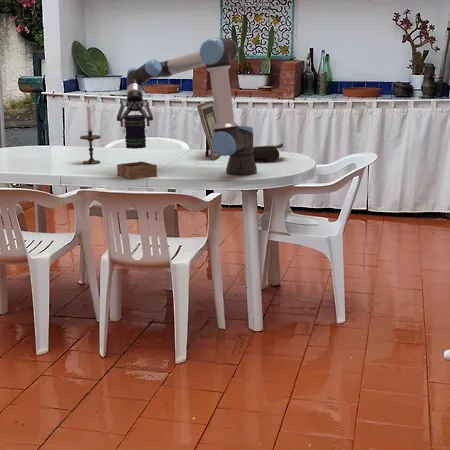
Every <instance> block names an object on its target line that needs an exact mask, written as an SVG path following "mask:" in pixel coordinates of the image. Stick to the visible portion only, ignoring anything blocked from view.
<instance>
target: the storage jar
mask: <svg viewBox="0 0 450 450" xmlns="http://www.w3.org/2000/svg"><path fill="white" fill-rule="evenodd" d="M124 139H125V140H124V141H125V148H126V149H134V150H135V149H136V150H137V149H145V148H146V147H147V145H146V144H147V143H146V142H147V138H146V131H145V115H142V114H128V115H126V116H125V136H124Z"/></svg>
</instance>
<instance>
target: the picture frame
mask: <svg viewBox="0 0 450 450" xmlns="http://www.w3.org/2000/svg"><path fill="white" fill-rule="evenodd" d="M196 108H197V111H198V115H199V117H200V122H201V125H202V128H203V131H204V136H205V138H206V146H205V155H204V157H205V158H207V157H208V156H209V153H210V155H211V160H212V161H215V160H216V159H218V158H219V157H221V155H219V154H217V153H216V152H215V151H214V150H213V148H212V145H211V139H212V137H213V135H214V127H215V126H216V117H215V109H214V101H213V100H209V101H205V102H202V103H200V104H197V105H196Z"/></svg>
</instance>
